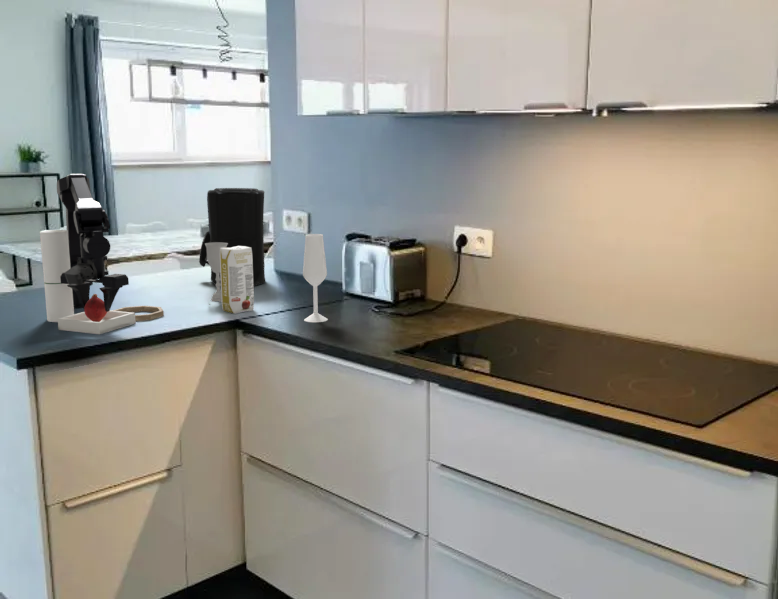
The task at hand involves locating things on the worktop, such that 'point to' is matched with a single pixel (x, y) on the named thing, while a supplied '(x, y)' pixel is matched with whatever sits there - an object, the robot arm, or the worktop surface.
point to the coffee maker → (236, 225)
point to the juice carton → (236, 279)
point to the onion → (95, 309)
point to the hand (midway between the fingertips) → (96, 310)
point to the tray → (107, 324)
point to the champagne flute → (314, 269)
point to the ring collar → (157, 310)
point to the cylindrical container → (56, 274)
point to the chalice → (215, 264)
